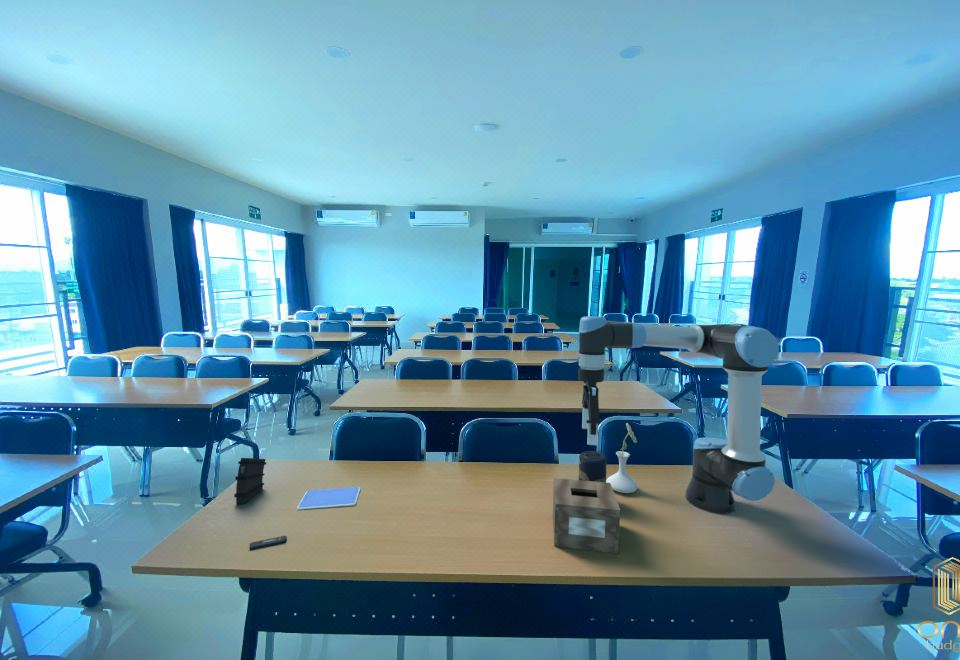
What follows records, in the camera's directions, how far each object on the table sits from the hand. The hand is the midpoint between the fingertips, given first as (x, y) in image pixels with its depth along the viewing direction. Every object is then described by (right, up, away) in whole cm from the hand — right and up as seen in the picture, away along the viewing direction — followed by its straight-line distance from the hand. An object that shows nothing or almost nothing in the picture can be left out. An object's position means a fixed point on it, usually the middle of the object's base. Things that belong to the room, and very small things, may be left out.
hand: (589, 436), depth 115 cm
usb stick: (-95, -31, -5) cm, 100 cm away
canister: (+7, -29, +21) cm, 36 cm away
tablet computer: (-87, -29, +20) cm, 94 cm away
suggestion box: (-1, -31, +2) cm, 31 cm away
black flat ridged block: (-117, -28, +22) cm, 122 cm away
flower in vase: (+22, -29, +30) cm, 47 cm away
